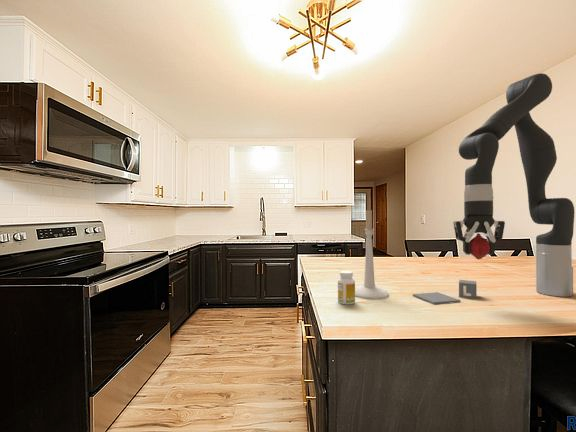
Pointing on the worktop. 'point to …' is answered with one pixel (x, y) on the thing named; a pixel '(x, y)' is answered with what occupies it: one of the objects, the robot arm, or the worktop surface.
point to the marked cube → (467, 289)
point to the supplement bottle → (346, 288)
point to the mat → (436, 298)
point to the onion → (479, 247)
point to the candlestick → (369, 268)
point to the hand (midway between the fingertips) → (478, 254)
